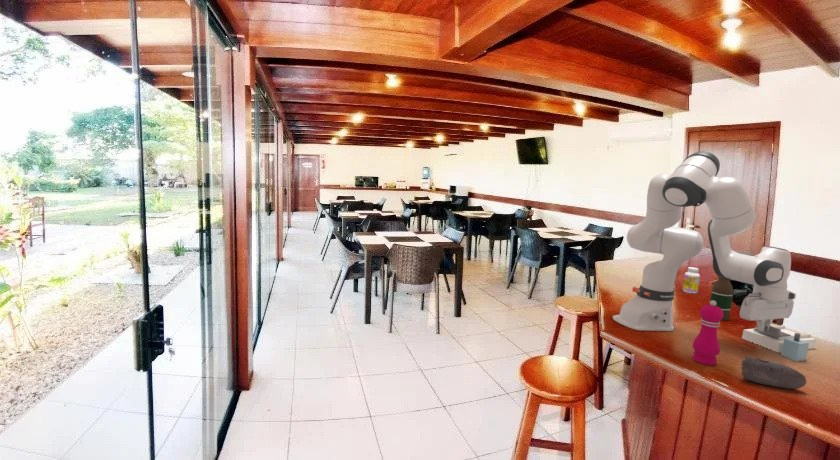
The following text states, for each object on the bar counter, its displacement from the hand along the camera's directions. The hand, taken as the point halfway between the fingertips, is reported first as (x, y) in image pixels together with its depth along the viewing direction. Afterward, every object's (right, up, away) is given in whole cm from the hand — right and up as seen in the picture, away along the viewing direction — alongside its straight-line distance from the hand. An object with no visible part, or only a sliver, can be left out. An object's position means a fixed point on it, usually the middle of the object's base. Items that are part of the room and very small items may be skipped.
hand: (762, 330), depth 145 cm
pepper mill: (-30, -7, -14) cm, 34 cm away
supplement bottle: (+20, +3, +69) cm, 71 cm away
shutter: (+6, -2, +2) cm, 6 cm away
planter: (+101, +9, +140) cm, 173 cm away
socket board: (+8, -6, +4) cm, 11 cm away
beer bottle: (+6, -2, +30) cm, 30 cm away
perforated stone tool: (-21, -9, -28) cm, 36 cm away
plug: (+3, -7, -8) cm, 11 cm away
